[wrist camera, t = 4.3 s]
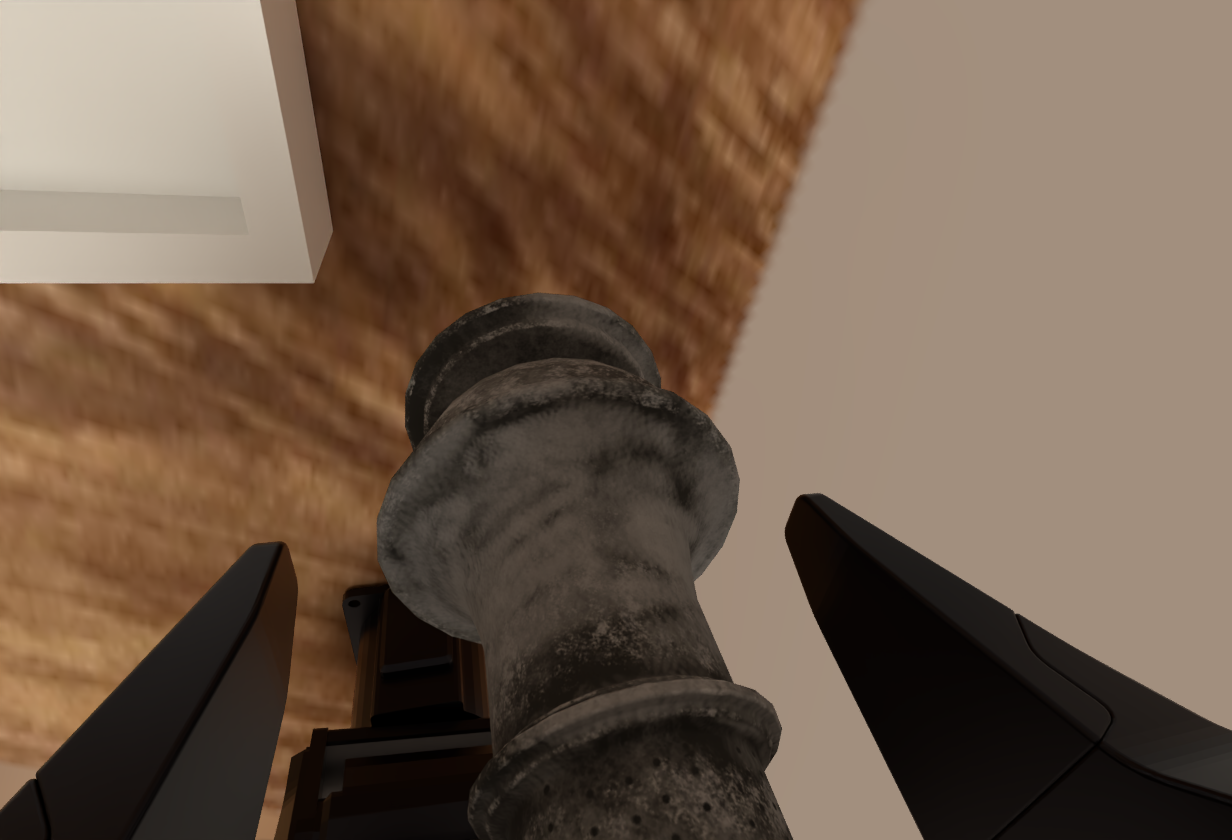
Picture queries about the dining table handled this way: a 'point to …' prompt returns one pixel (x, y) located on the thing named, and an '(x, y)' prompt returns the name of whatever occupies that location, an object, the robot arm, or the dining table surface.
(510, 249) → the dining table surface
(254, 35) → the condiment caddy
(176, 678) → the robot arm
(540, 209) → the dining table surface
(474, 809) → the grey stone turned post
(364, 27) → the dining table surface
